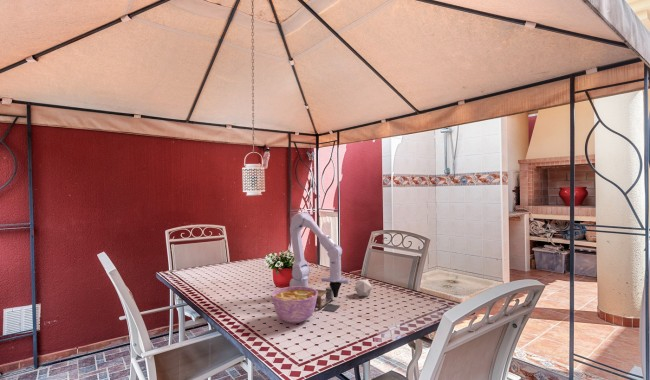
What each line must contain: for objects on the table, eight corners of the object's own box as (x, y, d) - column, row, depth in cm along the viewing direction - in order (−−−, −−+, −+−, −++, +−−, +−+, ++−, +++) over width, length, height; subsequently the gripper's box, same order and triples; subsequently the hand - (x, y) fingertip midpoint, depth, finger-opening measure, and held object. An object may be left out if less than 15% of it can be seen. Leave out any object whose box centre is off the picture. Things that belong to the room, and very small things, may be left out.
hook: (303, 305, 155) (303, 293, 155) (315, 296, 169) (315, 285, 169) (322, 308, 151) (322, 296, 151) (333, 298, 165) (333, 287, 165)
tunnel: (308, 308, 152) (308, 294, 152) (316, 302, 160) (315, 289, 160) (320, 310, 150) (320, 295, 150) (327, 304, 157) (327, 290, 157)
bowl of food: (276, 311, 149) (276, 286, 149) (319, 311, 149) (319, 286, 149) (267, 329, 129) (267, 301, 129) (317, 329, 129) (316, 300, 129)
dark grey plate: (322, 310, 149) (322, 309, 149) (328, 304, 157) (328, 304, 157) (334, 312, 147) (334, 311, 147) (340, 306, 155) (340, 305, 155)
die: (367, 300, 163) (376, 283, 167) (351, 291, 165) (361, 274, 168) (365, 301, 171) (373, 284, 175) (350, 292, 173) (359, 276, 176)
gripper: (319, 270, 162) (319, 297, 162) (346, 273, 156) (346, 301, 156) (324, 267, 169) (324, 293, 169) (350, 269, 163) (351, 296, 163)
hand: (335, 296), depth 163 cm, fingers closed
